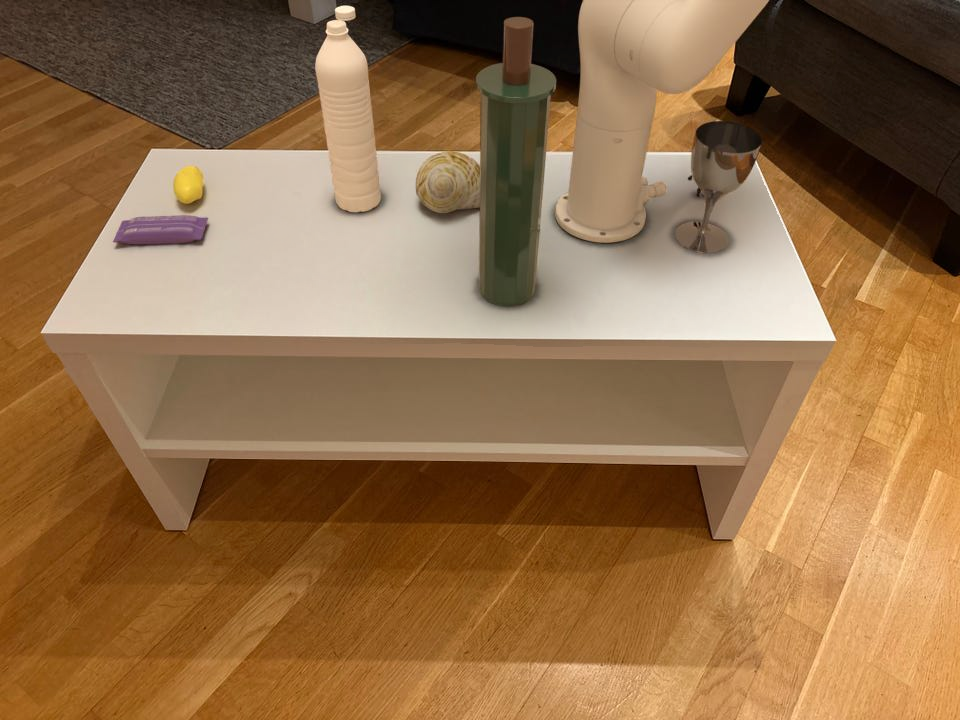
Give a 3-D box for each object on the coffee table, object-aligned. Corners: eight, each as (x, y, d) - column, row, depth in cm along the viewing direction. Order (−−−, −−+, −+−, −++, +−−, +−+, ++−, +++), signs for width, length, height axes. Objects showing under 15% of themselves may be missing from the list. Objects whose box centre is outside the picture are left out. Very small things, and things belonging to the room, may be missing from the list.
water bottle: (375, 215, 104) (356, 34, 86) (330, 211, 104) (301, 31, 86) (388, 181, 110) (372, 6, 92) (346, 178, 110) (321, 4, 93)
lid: (531, 67, 78) (534, 1, 73) (570, 99, 73) (577, 30, 68) (462, 82, 76) (462, 14, 71) (498, 116, 71) (500, 45, 66)
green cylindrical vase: (518, 265, 96) (529, 64, 77) (544, 296, 92) (563, 92, 73) (469, 279, 94) (469, 77, 75) (494, 312, 90) (501, 106, 71)
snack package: (124, 226, 101) (114, 248, 98) (119, 214, 100) (109, 236, 96) (210, 223, 102) (203, 245, 99) (206, 211, 101) (199, 233, 97)
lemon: (211, 180, 109) (204, 157, 106) (202, 211, 104) (194, 187, 101) (182, 181, 109) (174, 158, 106) (171, 212, 103) (163, 188, 101)
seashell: (494, 176, 110) (493, 137, 100) (482, 235, 107) (480, 200, 97) (427, 166, 110) (420, 127, 101) (414, 224, 108) (405, 189, 98)
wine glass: (660, 227, 102) (682, 127, 92) (709, 215, 104) (736, 116, 94) (692, 260, 97) (719, 158, 86) (742, 247, 99) (775, 146, 88)
